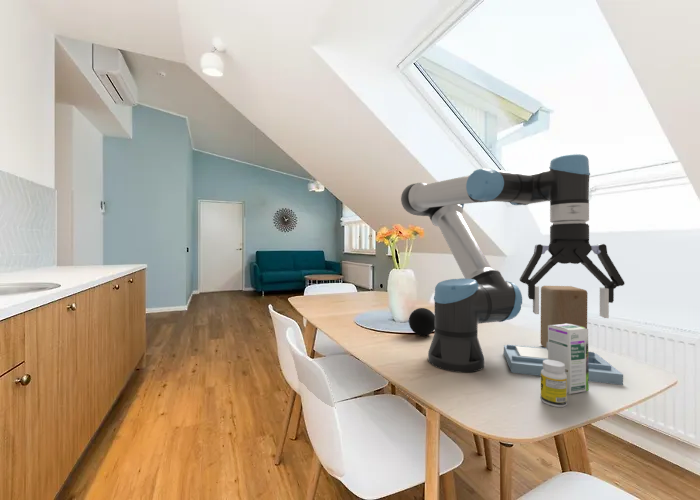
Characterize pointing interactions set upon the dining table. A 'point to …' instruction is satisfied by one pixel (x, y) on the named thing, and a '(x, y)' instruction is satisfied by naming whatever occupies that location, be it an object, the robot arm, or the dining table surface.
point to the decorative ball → (422, 321)
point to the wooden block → (562, 308)
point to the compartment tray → (533, 366)
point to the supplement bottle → (554, 383)
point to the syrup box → (570, 354)
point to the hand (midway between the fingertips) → (568, 315)
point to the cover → (532, 352)
